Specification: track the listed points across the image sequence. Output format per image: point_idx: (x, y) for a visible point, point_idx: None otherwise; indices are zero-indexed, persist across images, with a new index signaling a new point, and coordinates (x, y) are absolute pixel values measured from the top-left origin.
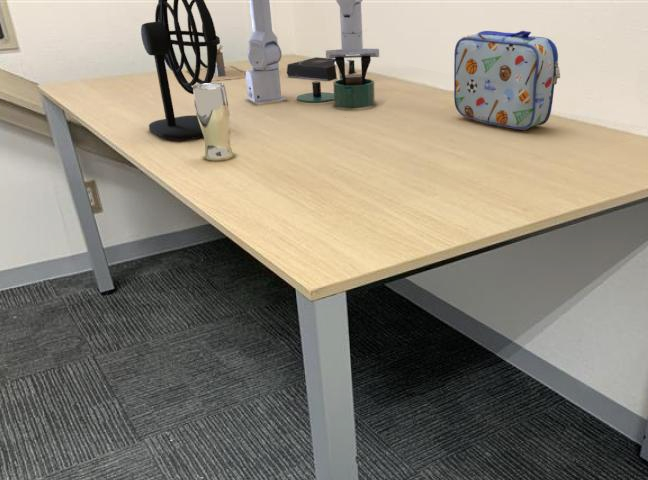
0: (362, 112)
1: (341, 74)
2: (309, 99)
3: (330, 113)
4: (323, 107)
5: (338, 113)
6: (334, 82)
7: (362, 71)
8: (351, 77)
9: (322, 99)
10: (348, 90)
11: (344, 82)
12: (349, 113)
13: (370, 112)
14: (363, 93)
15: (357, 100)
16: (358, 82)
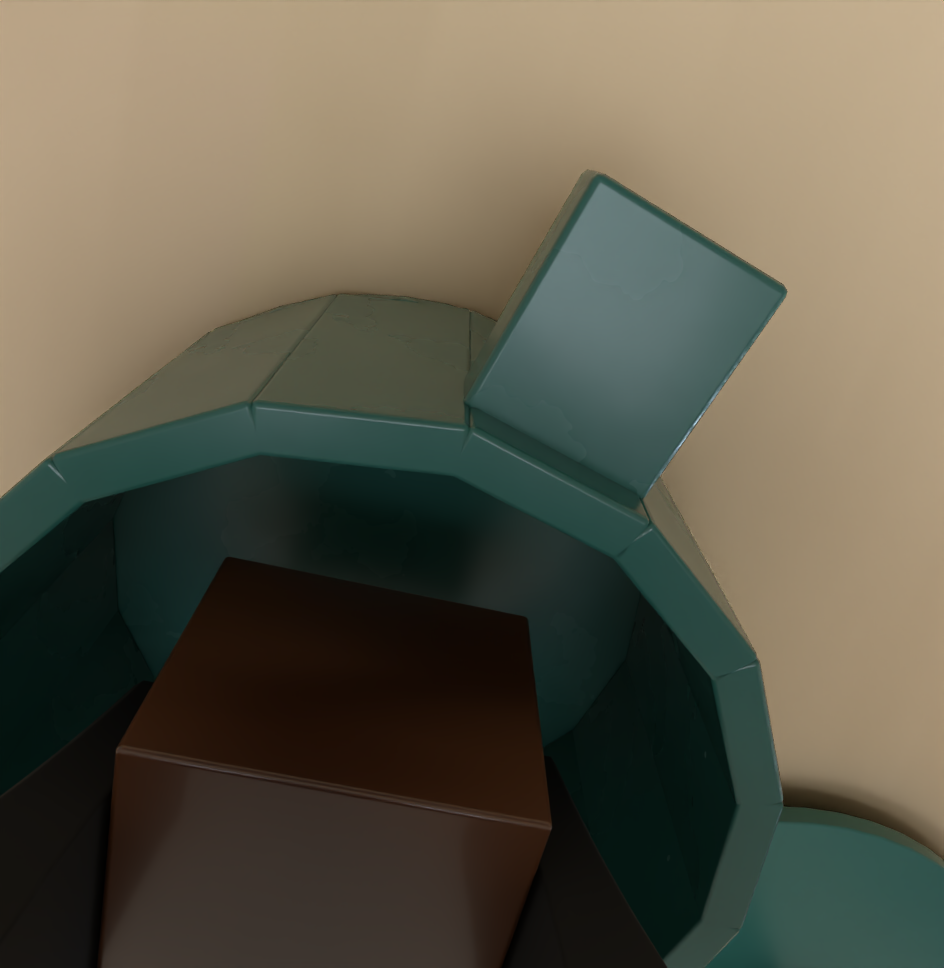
0: (373, 86)
1: (658, 953)
2: (897, 918)
3: (883, 238)
4: (811, 641)
5: (769, 183)
6: (725, 909)
7: (18, 897)
8: (405, 797)
9: None
10: (648, 214)
11: (558, 798)
12: (603, 104)
13: (238, 24)
14: (236, 361)
15: (391, 329)
16: (252, 677)
